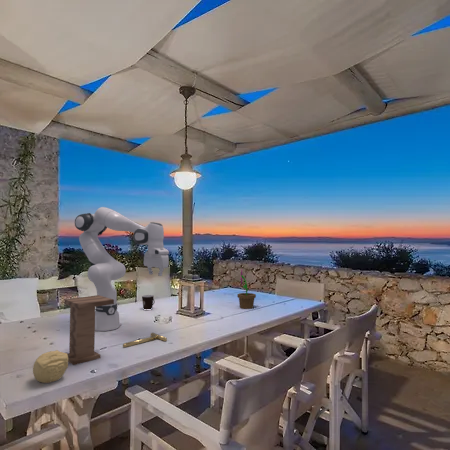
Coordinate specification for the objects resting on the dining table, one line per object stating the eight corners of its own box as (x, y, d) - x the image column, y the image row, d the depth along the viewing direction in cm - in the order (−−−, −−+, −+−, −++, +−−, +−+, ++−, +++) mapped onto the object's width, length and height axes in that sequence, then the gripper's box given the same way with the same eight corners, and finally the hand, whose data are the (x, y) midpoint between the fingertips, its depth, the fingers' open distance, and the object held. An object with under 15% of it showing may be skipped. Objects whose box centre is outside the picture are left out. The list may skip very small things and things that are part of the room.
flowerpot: (238, 305, 270) (238, 267, 271) (256, 306, 268) (256, 268, 269) (236, 309, 256) (236, 269, 257) (255, 310, 254) (255, 270, 255)
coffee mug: (140, 308, 256) (141, 295, 256) (152, 307, 259) (152, 294, 259) (143, 312, 245) (143, 298, 245) (155, 311, 248) (155, 297, 249)
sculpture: (40, 389, 122) (40, 359, 122) (28, 379, 130) (28, 351, 130) (71, 379, 131) (72, 351, 131) (58, 370, 139) (59, 344, 139)
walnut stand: (61, 356, 154) (62, 299, 155) (97, 348, 166) (98, 295, 167) (75, 366, 143) (76, 304, 144) (112, 356, 155) (113, 299, 156)
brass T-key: (152, 332, 188) (152, 335, 188) (116, 340, 172) (116, 344, 172) (167, 337, 178) (167, 341, 178) (130, 347, 163) (130, 351, 163)
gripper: (141, 250, 198) (140, 273, 197) (161, 251, 183) (161, 277, 183) (150, 250, 202) (149, 273, 202) (170, 251, 188) (170, 276, 188)
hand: (155, 275), depth 192 cm, fingers open, 8 cm apart
